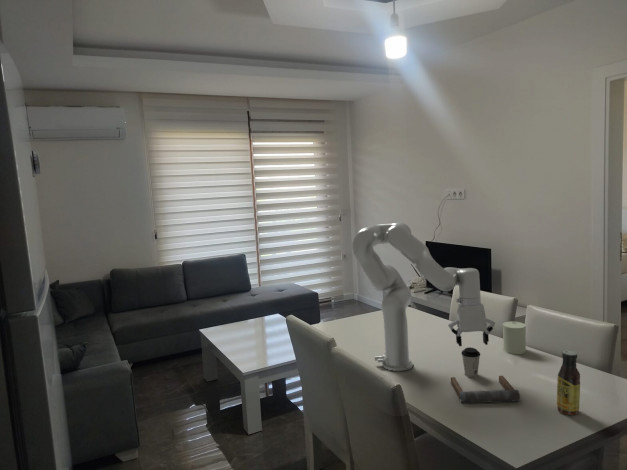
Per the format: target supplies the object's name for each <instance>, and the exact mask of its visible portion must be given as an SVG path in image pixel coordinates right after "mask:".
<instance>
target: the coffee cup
mask: <svg viewBox="0 0 627 470" xmlns="http://www.w3.org/2000/svg"><path fill="white" fill-rule="evenodd" d="M461 356H462V363H463V369H464V375H465V376H466V377H468V378H477V377H478V374H479V365H480V357H481V352H480V351H479V350H478V349H477V348H475V347H466V348H464V349H463V350H462V351H461Z"/></svg>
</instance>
